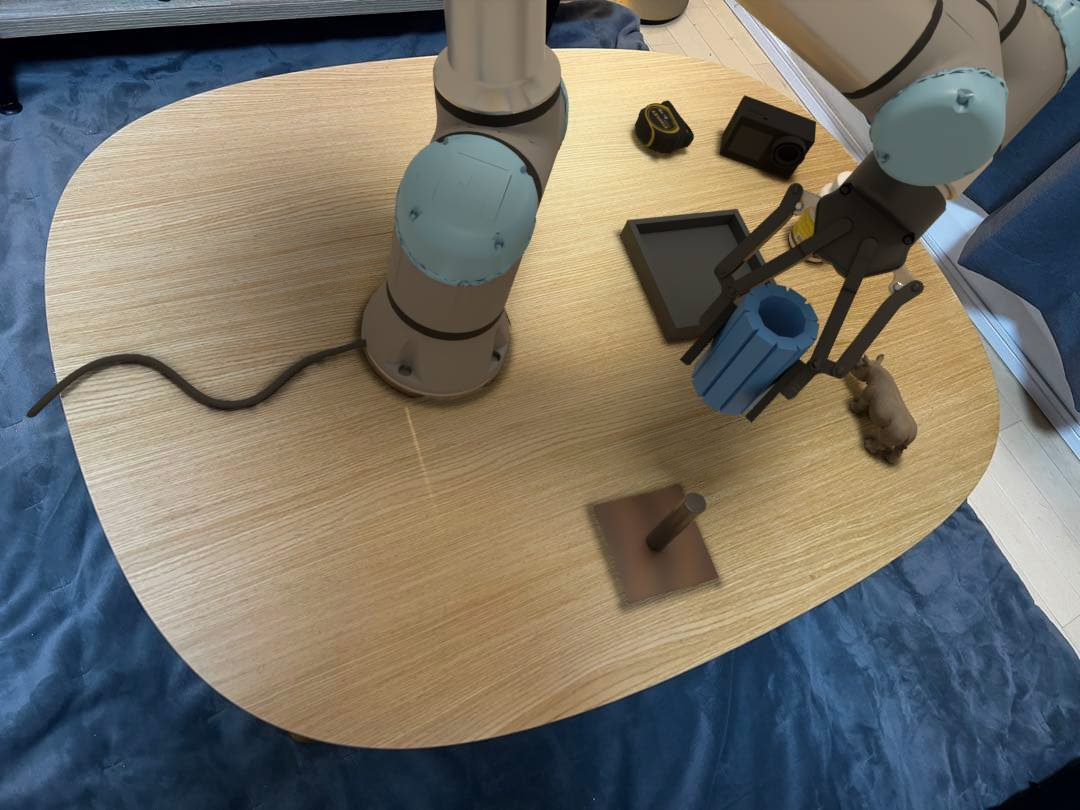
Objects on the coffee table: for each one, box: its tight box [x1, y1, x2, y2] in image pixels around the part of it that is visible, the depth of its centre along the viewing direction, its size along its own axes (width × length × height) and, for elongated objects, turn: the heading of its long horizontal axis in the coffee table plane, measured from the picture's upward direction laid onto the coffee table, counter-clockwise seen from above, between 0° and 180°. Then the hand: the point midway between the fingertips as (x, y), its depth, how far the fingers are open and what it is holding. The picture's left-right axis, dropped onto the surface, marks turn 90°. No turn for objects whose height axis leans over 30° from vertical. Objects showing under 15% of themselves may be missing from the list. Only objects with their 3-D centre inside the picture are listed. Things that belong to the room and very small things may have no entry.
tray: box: [619, 208, 778, 342], centre depth 101 cm, size 16×16×3 cm
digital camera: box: [719, 94, 817, 180], centre depth 113 cm, size 10×5×7 cm, turn 77°
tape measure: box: [634, 99, 695, 155], centre depth 111 cm, size 7×7×4 cm
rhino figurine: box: [849, 353, 918, 464], centre depth 96 cm, size 4×14×6 cm, turn 12°
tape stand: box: [592, 485, 720, 604], centre depth 79 cm, size 10×10×11 cm
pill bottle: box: [788, 170, 853, 263], centre depth 105 cm, size 6×6×11 cm
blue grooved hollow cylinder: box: [691, 283, 820, 417], centre depth 73 cm, size 6×7×11 cm
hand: (717, 389), depth 73 cm, fingers closed on blue grooved hollow cylinder, 7 cm apart
